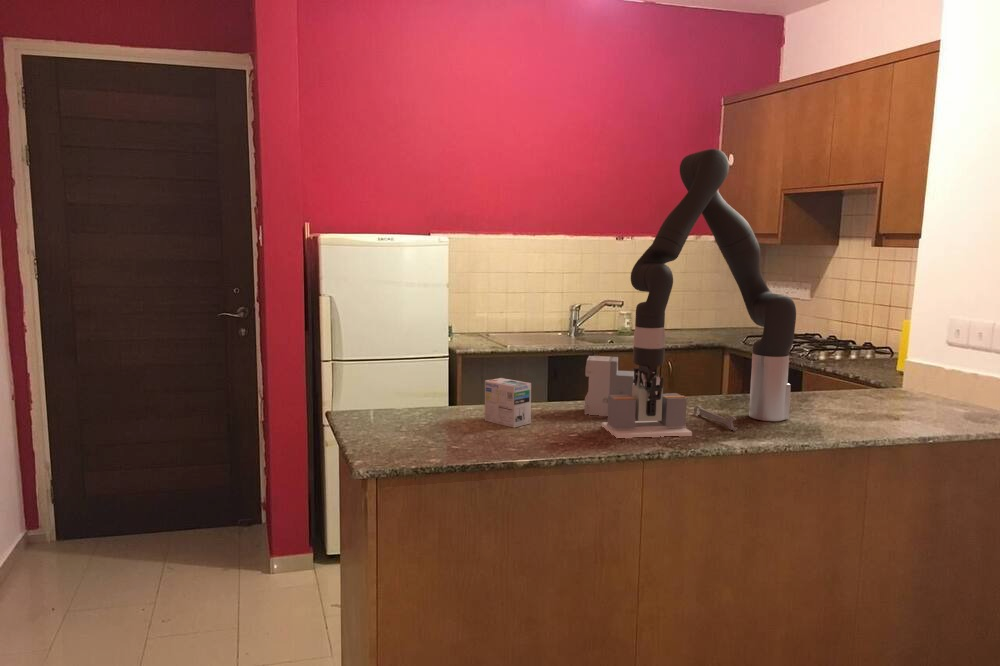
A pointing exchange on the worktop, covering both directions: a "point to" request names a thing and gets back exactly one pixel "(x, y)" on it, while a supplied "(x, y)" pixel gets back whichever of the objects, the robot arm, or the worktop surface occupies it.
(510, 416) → the light bulb box
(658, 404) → the block
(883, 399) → the worktop surface
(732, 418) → the combination wrench
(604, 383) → the circuit breaker
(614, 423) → the rail board
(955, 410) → the worktop surface
